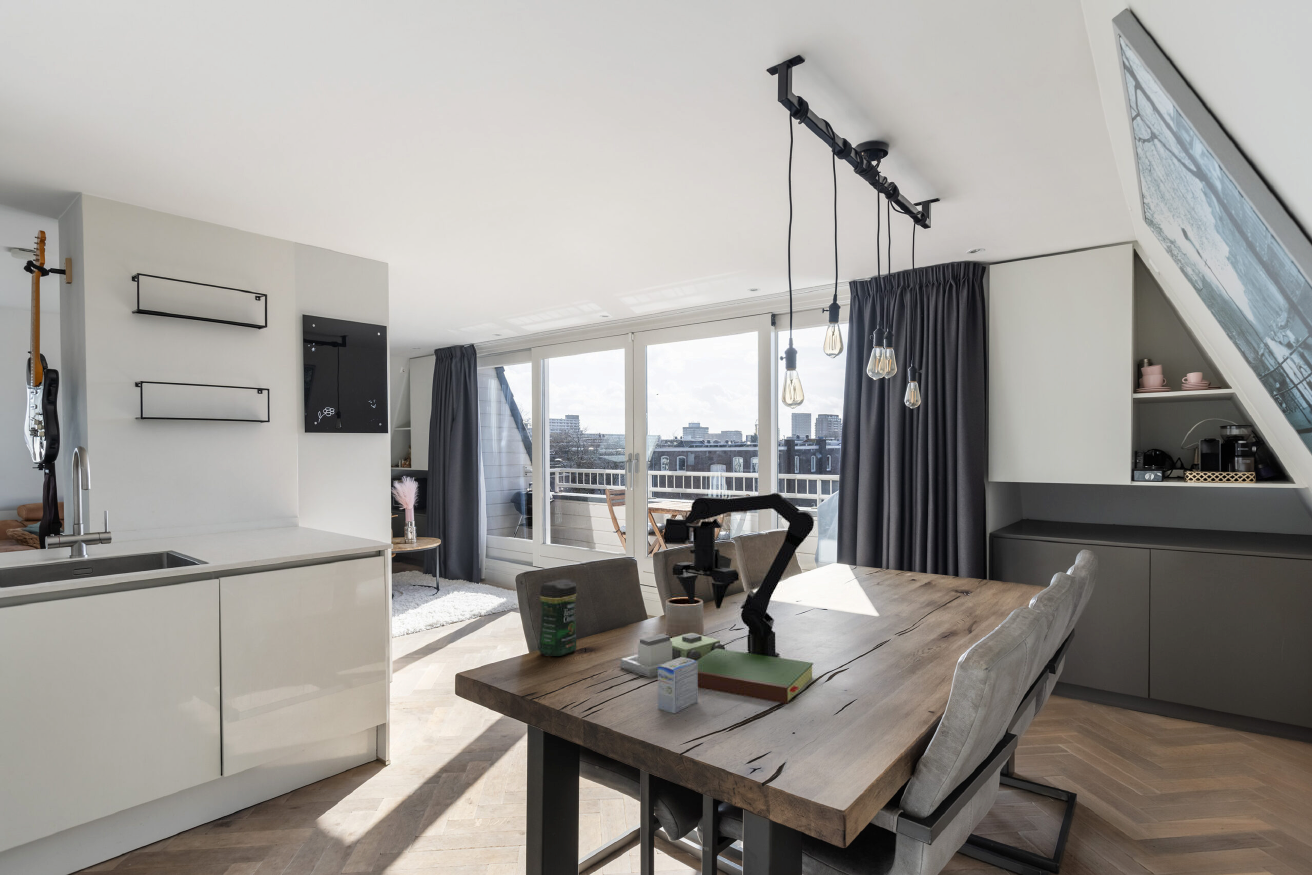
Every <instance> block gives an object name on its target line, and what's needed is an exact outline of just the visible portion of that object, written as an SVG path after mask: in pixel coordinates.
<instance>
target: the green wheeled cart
mask: <svg viewBox="0 0 1312 875" xmlns="http://www.w3.org/2000/svg"><path fill="white" fill-rule="evenodd" d="M670 641H672V660H674V659H677V658H680V657H684V658H688V659H692V660H695V661H697V660H698V659H700V658H701V657H703V656H705V655H706V654H708V653H710V652H711V651H713V650H715V649H716V648H717V649H723V650H726V646H725V645H724V644H721V640H720V639H717V638H712V637H709V636H705V635H698V634H695V633H689V634H682V635H681V636H678V637H674V638H671V637H670Z"/></svg>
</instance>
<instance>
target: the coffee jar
mask: <svg viewBox="0 0 1312 875" xmlns="http://www.w3.org/2000/svg"><path fill="white" fill-rule="evenodd" d="M539 599H540V604H541V620H540V635H539V647H538V648H539V649H538V650H539V653H540V654H542V655H543V656H546V657H549V658H550V657H561V656H565V655H568V654H570V653H572V652H575V651H576V650H577V632H576V630H577V629H576V612H575V608H576V599H577V583H576V582H575V581H574V580H571V579H563V578H562V579H557V580H554V581H550V582H546V583H545V582H544V583H543V584H542V585H540V592H539Z"/></svg>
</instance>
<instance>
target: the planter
mask: <svg viewBox="0 0 1312 875" xmlns="http://www.w3.org/2000/svg"><path fill="white" fill-rule="evenodd" d="M704 623H705V622H704V601H703V599H701V598H698V597H697V598H696V597H695V600H694V603H690V601H689V599H688V597H687V596H683V597H682V596H681V597H680V596H679V597H672V598H669V599H666V600H665V635H667V636H670V638H671V637H673V638H674V637H678V636H681V635H682V634H689V633H695V634H698V635H702V636H704V632H705V625H704Z"/></svg>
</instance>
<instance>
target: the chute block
mask: <svg viewBox="0 0 1312 875" xmlns="http://www.w3.org/2000/svg"><path fill="white" fill-rule="evenodd" d="M670 638H671V637H670V636H668V635H667V634H664V633H659V634H656V635H651V636H646V637H643V638H639V642H638V643H637V655H638V663H641V664H643V665H646V666H649V667H651V666H654V665H658V664H661V663H665V662H668V661H672V641H670Z"/></svg>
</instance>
